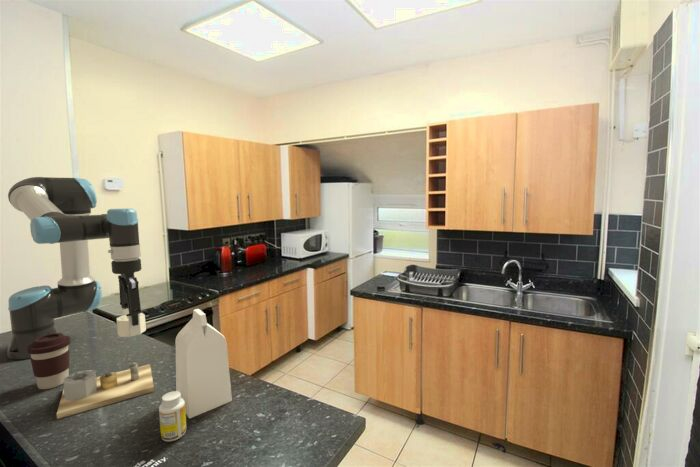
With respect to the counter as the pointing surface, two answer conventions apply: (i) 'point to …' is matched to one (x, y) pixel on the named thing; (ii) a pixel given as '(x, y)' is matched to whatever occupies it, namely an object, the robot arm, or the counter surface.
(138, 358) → the counter surface
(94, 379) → the seated gear
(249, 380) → the counter surface
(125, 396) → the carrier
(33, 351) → the coffee cup
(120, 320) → the white octagonal block
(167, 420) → the supplement bottle
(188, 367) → the milk
